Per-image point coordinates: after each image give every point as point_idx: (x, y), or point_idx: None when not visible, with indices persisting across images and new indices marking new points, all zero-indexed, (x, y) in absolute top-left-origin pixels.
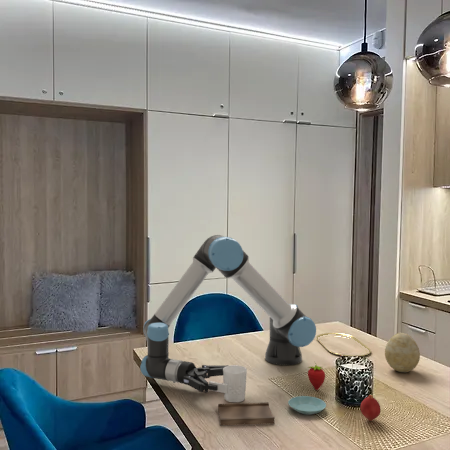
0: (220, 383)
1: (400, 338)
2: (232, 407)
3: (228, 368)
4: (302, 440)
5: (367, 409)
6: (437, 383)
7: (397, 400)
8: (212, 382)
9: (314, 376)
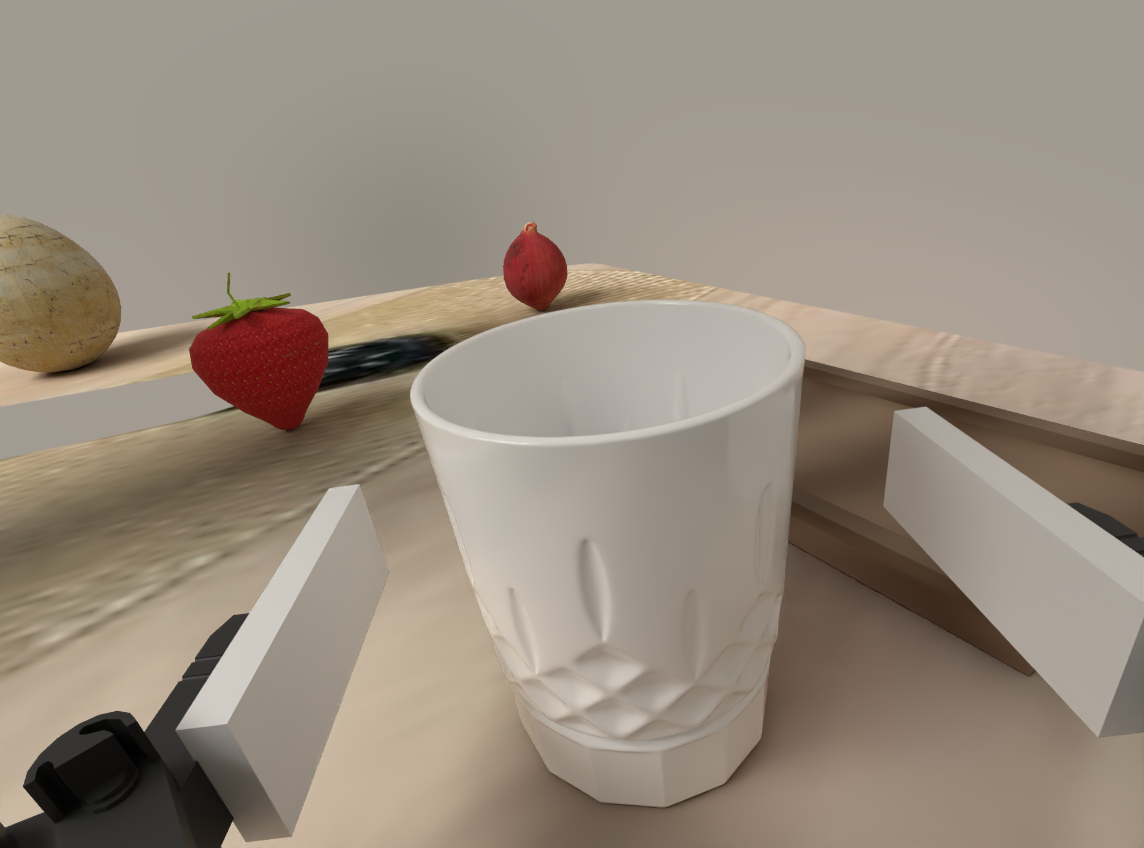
0: (977, 463)
1: (29, 226)
2: (907, 534)
3: (515, 476)
4: (824, 323)
5: (564, 259)
6: (209, 323)
7: (360, 323)
8: (1118, 543)
9: (316, 329)
